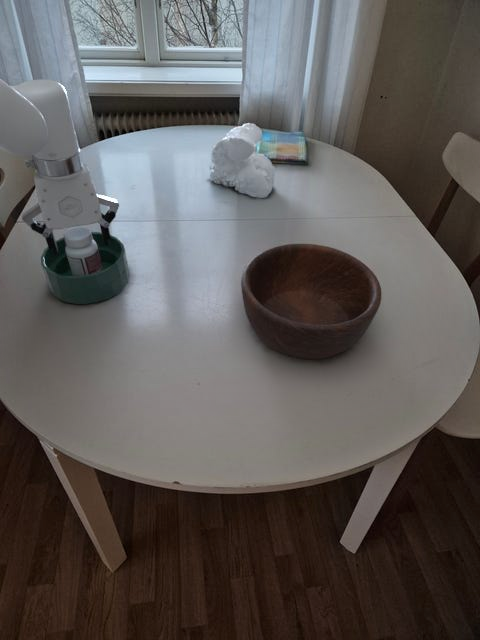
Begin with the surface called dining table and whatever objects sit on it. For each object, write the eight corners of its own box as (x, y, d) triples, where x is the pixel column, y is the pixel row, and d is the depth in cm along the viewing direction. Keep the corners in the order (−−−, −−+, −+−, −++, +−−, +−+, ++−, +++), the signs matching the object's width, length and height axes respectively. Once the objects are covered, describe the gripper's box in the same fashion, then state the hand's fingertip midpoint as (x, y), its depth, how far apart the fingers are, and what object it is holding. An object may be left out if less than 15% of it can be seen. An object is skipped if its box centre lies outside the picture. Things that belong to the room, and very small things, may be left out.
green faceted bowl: (53, 313, 84) (43, 285, 79) (48, 266, 95) (38, 239, 90) (136, 295, 88) (131, 267, 84) (122, 253, 99) (117, 226, 94)
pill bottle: (104, 268, 94) (93, 223, 86) (105, 285, 90) (94, 239, 82) (74, 272, 93) (61, 226, 85) (74, 290, 88) (60, 243, 81)
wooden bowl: (263, 384, 72) (267, 342, 65) (225, 293, 90) (225, 251, 83) (393, 356, 78) (410, 314, 71) (334, 275, 95) (343, 235, 88)
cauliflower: (288, 175, 111) (226, 125, 107) (245, 228, 123) (188, 185, 119) (298, 151, 125) (243, 106, 121) (258, 201, 138) (208, 161, 133)
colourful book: (304, 138, 155) (305, 131, 153) (308, 165, 137) (309, 157, 136) (257, 136, 155) (257, 128, 153) (255, 162, 138) (255, 155, 136)
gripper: (4, 178, 69) (35, 265, 81) (113, 164, 74) (128, 248, 85) (4, 160, 74) (34, 244, 86) (107, 148, 79) (121, 229, 91)
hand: (81, 246), depth 86 cm, fingers open, 9 cm apart
